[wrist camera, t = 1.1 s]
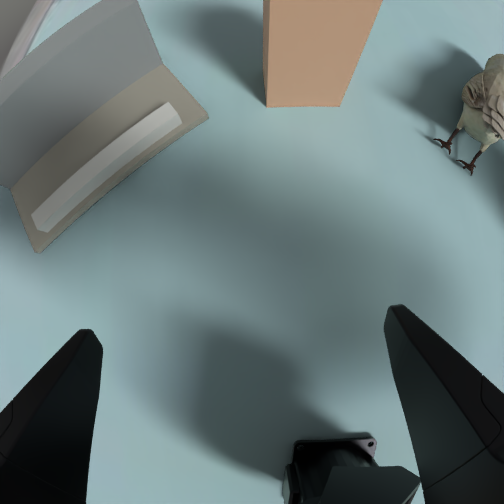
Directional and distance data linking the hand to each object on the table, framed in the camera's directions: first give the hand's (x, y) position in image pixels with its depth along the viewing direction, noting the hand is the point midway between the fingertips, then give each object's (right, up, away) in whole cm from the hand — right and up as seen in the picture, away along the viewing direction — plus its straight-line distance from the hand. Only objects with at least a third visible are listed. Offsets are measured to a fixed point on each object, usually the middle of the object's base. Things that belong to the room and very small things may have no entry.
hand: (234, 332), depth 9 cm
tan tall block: (+5, +16, +15) cm, 23 cm away
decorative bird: (+22, +16, +15) cm, 31 cm away
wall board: (-13, +11, +15) cm, 23 cm away
